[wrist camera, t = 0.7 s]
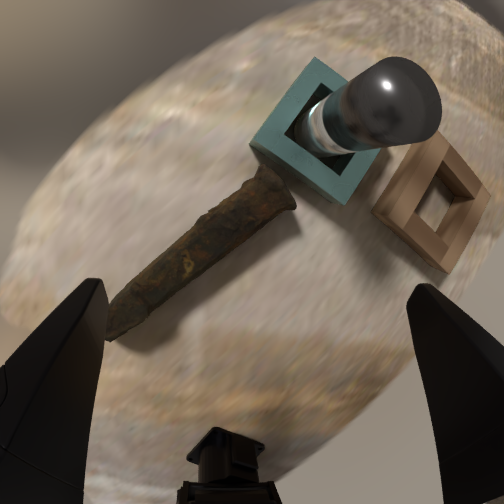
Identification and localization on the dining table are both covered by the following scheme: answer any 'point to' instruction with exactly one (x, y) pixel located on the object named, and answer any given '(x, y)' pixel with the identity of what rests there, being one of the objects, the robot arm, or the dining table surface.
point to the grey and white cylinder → (373, 111)
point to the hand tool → (200, 249)
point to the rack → (411, 191)
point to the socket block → (298, 159)
